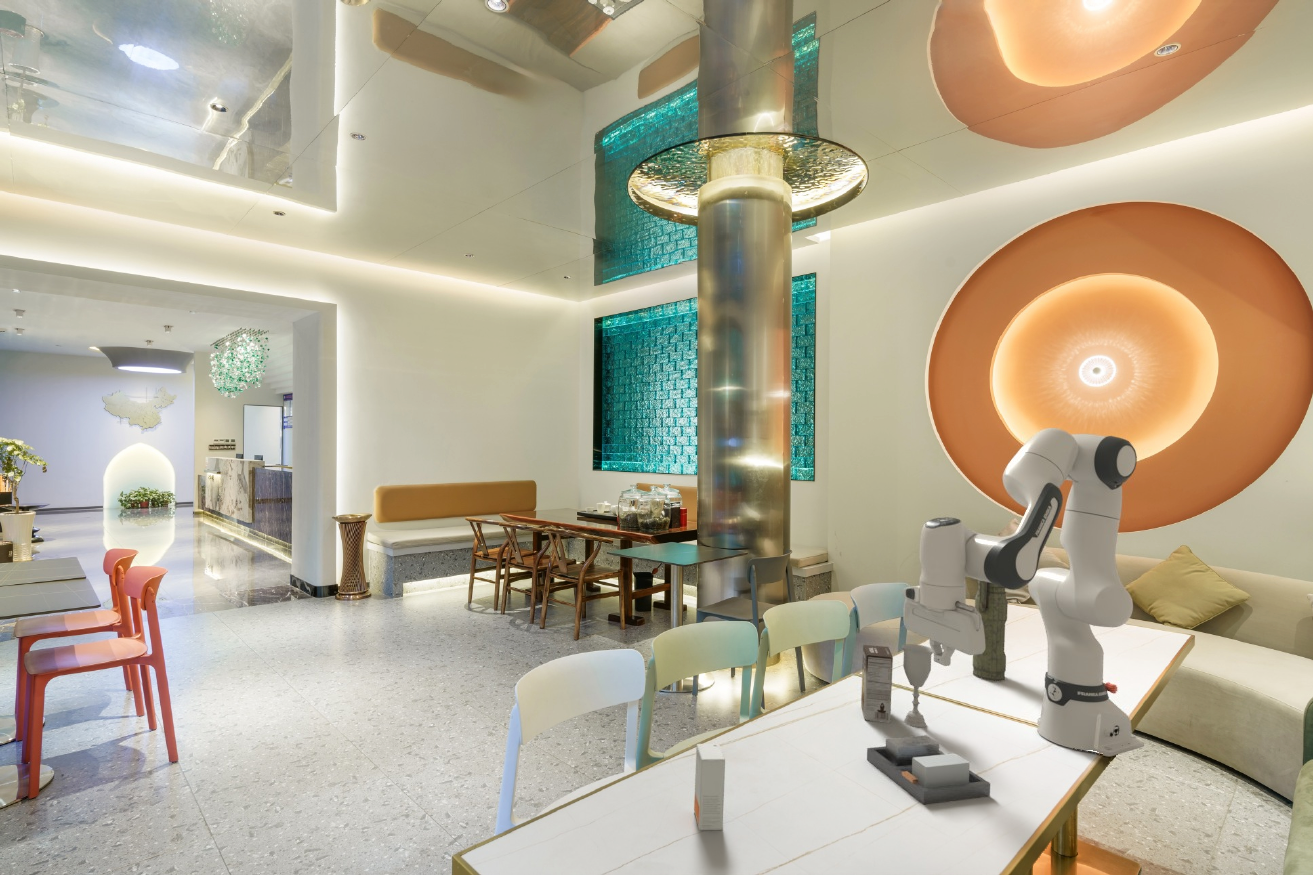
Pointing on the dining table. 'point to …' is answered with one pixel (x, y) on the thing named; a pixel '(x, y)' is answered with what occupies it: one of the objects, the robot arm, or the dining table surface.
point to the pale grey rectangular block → (940, 770)
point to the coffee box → (876, 683)
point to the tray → (899, 768)
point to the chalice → (916, 677)
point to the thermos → (991, 631)
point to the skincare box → (709, 786)
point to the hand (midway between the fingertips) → (942, 663)
